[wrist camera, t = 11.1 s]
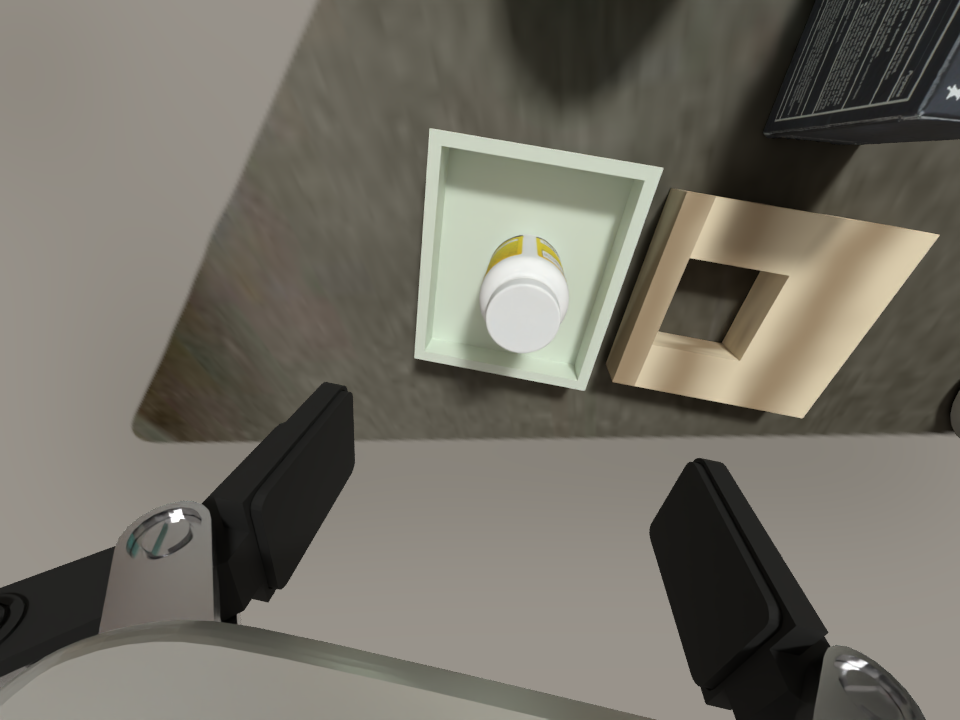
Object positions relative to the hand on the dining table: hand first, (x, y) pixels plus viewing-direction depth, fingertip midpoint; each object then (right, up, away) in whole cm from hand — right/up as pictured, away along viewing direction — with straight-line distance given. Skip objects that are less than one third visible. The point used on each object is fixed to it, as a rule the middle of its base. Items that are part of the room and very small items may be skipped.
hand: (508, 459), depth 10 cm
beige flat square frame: (+19, +7, +18) cm, 27 cm away
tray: (+2, +10, +18) cm, 21 cm away
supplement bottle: (+3, +10, +18) cm, 20 cm away
